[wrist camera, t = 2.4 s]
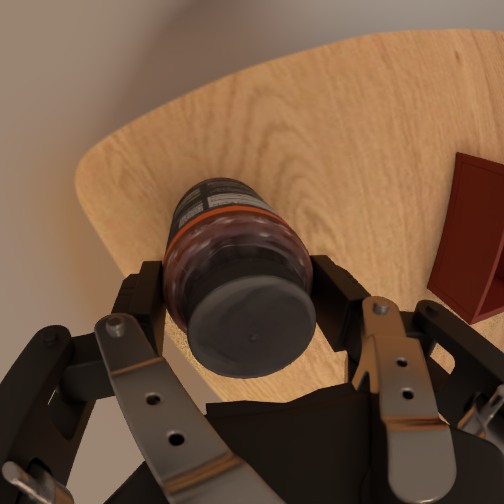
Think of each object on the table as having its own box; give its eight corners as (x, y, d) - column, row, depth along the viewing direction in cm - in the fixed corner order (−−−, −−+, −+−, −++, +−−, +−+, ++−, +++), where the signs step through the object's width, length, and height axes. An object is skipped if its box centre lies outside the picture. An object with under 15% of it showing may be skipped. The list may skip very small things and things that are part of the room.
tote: (456, 151, 19) (515, 168, 13) (515, 174, 22) (557, 190, 16) (426, 287, 25) (469, 325, 19) (490, 276, 27) (524, 301, 21)
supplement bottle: (242, 274, 20) (287, 407, 10) (160, 246, 18) (133, 380, 8) (280, 197, 19) (378, 284, 8) (194, 160, 17) (191, 210, 6)
